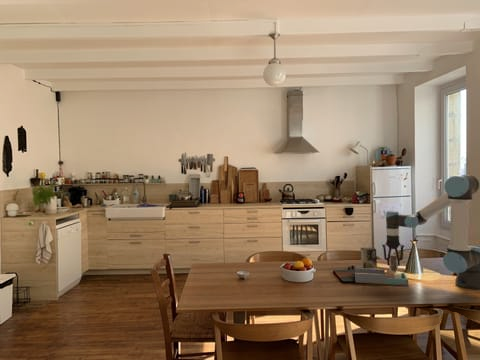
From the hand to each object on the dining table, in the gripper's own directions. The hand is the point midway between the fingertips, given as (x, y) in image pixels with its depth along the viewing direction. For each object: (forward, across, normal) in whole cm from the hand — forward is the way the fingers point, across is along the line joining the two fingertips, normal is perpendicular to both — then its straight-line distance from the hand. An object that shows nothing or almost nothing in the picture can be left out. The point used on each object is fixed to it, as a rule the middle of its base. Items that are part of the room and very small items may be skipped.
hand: (393, 270), depth 236 cm
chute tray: (+3, 0, +14) cm, 14 cm away
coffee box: (+3, +15, -5) cm, 16 cm away
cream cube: (0, +1, +14) cm, 14 cm away
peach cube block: (+1, +4, +14) cm, 15 cm away
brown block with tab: (+2, 0, 0) cm, 2 cm away
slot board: (+3, +15, +14) cm, 21 cm away
